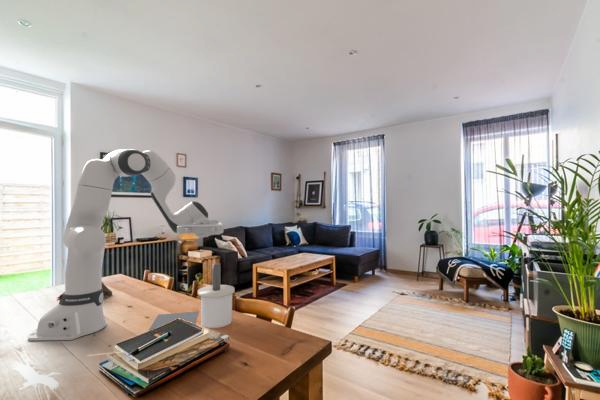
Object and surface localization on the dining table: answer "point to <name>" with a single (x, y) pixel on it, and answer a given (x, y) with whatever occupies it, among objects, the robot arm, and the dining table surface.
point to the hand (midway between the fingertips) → (199, 230)
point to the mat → (173, 318)
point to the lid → (216, 286)
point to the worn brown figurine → (106, 291)
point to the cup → (216, 311)
